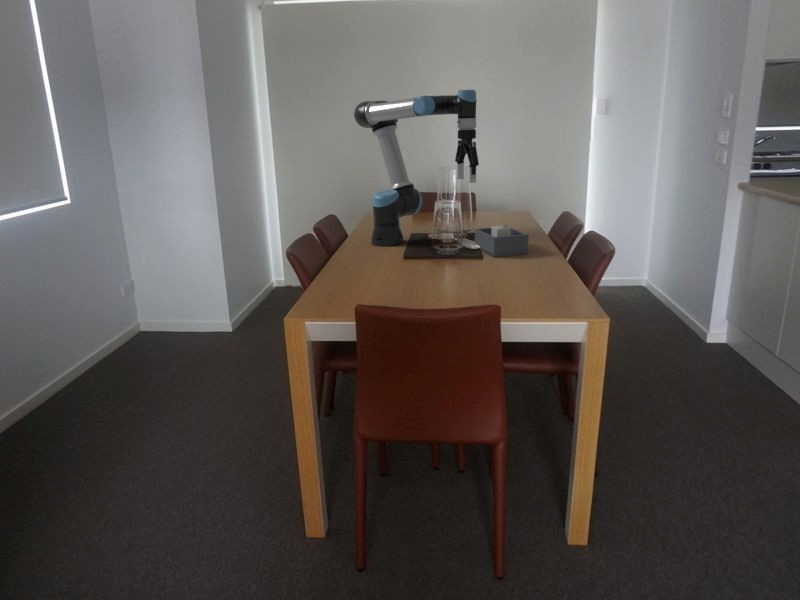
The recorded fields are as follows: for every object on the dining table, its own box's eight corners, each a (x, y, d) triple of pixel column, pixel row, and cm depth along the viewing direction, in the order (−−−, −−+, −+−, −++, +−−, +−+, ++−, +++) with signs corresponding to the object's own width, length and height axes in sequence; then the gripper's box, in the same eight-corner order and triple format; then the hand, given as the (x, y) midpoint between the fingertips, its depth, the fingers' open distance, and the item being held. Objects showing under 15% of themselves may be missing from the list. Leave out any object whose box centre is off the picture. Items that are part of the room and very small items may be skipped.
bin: (474, 247, 260) (474, 229, 258) (506, 244, 264) (506, 226, 262) (494, 257, 242) (494, 237, 240) (527, 253, 246) (528, 234, 243)
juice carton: (491, 247, 255) (491, 224, 252) (504, 246, 256) (504, 223, 253) (497, 250, 249) (497, 226, 246) (510, 249, 251) (510, 225, 248)
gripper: (447, 128, 258) (447, 178, 265) (469, 130, 236) (469, 184, 242) (464, 127, 260) (463, 177, 267) (487, 129, 238) (486, 183, 244)
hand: (466, 180), depth 255 cm, fingers open, 13 cm apart
